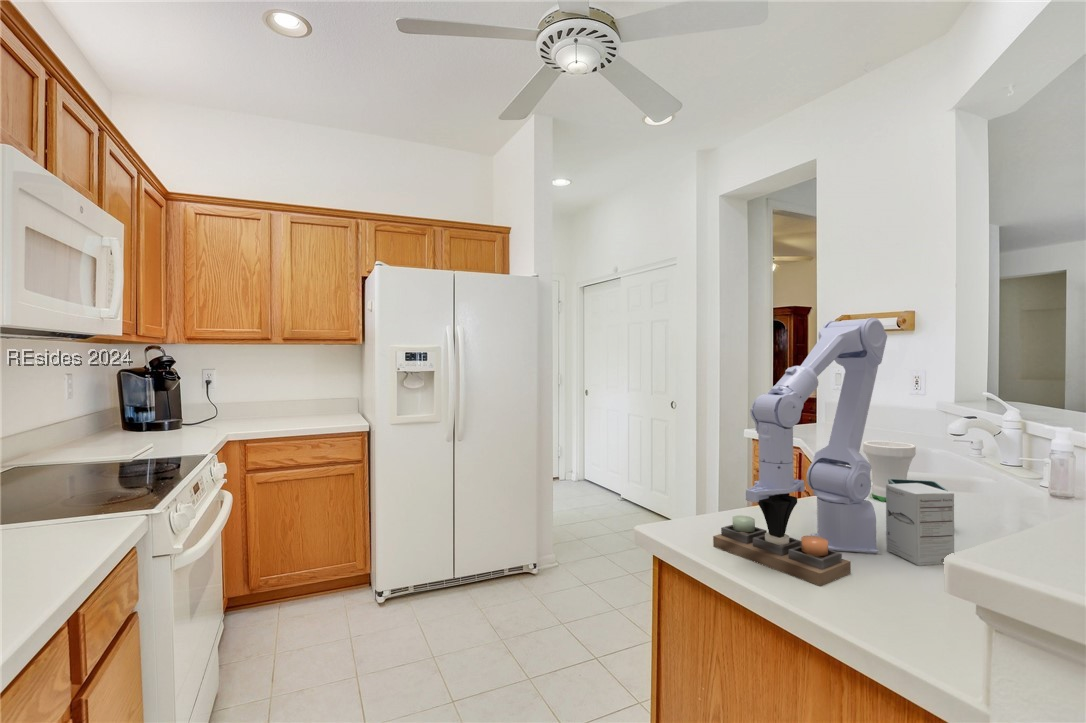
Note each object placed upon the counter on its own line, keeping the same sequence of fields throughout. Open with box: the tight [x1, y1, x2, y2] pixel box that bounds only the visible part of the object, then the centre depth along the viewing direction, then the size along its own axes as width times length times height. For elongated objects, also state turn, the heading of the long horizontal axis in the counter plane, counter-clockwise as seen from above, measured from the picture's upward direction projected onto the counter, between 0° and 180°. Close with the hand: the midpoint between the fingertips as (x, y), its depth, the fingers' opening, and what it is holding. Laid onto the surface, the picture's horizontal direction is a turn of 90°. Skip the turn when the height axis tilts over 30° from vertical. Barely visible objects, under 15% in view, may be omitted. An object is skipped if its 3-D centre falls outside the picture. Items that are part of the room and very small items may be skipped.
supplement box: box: [885, 483, 955, 566], centre depth 92 cm, size 7×7×13 cm
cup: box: [862, 440, 917, 502], centre depth 131 cm, size 11×11×14 cm
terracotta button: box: [800, 535, 828, 556], centre depth 86 cm, size 4×4×2 cm
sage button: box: [732, 515, 756, 532], centre depth 98 cm, size 4×4×2 cm
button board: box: [712, 524, 852, 587], centre depth 92 cm, size 21×9×4 cm, turn 31°
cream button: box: [765, 531, 790, 546], centre depth 92 cm, size 4×4×2 cm
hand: (776, 536), depth 92 cm, fingers closed, pressing on cream button
